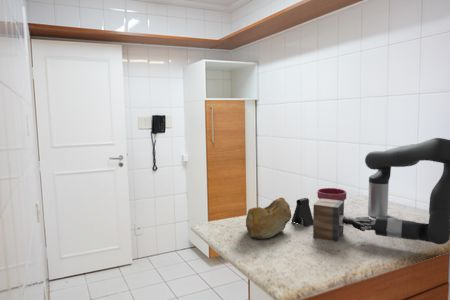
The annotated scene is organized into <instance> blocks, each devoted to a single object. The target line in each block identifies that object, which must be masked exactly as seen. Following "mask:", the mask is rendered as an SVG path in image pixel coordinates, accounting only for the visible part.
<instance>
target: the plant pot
mask: <svg viewBox="0 0 450 300" xmlns="http://www.w3.org/2000/svg"><path fill="white" fill-rule="evenodd" d="M316 193H317V194H316V195H317V198H318V200H320V199H321V198H322V199H331V200H340V201H344V202H345V200H347V191H346V190H345V189H342V188H337V187H336V188H335V187H334V188H333V187H326V188H319V189H318V190H317V192H316Z"/></svg>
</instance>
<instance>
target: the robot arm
mask: <svg viewBox="0 0 450 300" xmlns="http://www.w3.org/2000/svg"><path fill="white" fill-rule="evenodd" d="M421 161H422V162H423V161H428V162H429V161H430V162H434V163H441V164H443V169H442V174H441V176H440V178H439V180H438V181H437V183H436V184H435V185H434V187H433V188H432V190H431V192H430V195H429V205H428V206H429V207H428V212H429V213H428V214H429V218H428V223H425V222H424V223H423V222H417V221H413V220H406V219H399V218H395V217H389V216H388V214H389V212H388V209H389V183H390V178H391V171H392V167H393V168H406V167H412V166H413V167H414V166H415V165H417V164H418V163H420V162H421ZM364 163H365V165H366V167H367V168H368V169H370V170H376V172H375V173H374V174H372V175H370V176H369V177H368V196H367V199H368V200H367V201H368V202H367V215H368V216H360V217H354V218H350V217H349V218H347V217H344V219H343V224H344V225H350V226H352V227H353V228H354V229H356V230H358V231H361V232H366V231H374V234H375V235H376V236H382V237H386V238H395V239H405V240H410V241H423V242H428V243H434V244H436V245H444V244H447V243H448V242H449V241H450V139H447V138H444V137H443V138H442V137H441V138H440V137H435V138H430V139H427V140H425V141H421V142H419V143H415V144H413V143H412V144H407V145H401V146H398V147H397V146H396V147H393V148H390V149H385V150H382V151H381V150H378V151H377V150H376V151H375V150H374V151H370V152H368V153H367V154H366V155H365V158H364ZM370 217H372V218H375V219H372V218H370Z"/></svg>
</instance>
